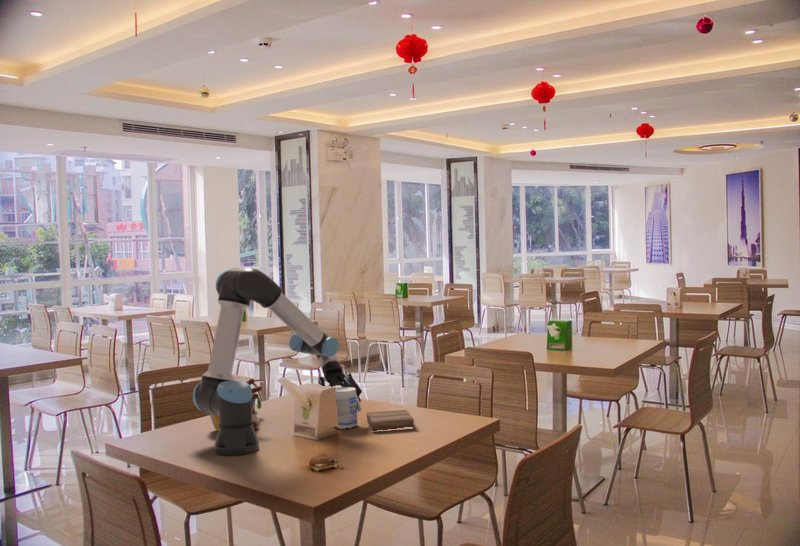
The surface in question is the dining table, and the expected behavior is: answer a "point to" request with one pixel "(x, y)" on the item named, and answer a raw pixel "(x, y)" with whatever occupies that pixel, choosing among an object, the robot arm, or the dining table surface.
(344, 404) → the supplement tub
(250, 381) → the bucket of meat
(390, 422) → the walnut stand
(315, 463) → the hamburger
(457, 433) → the dining table surface
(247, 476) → the dining table surface
